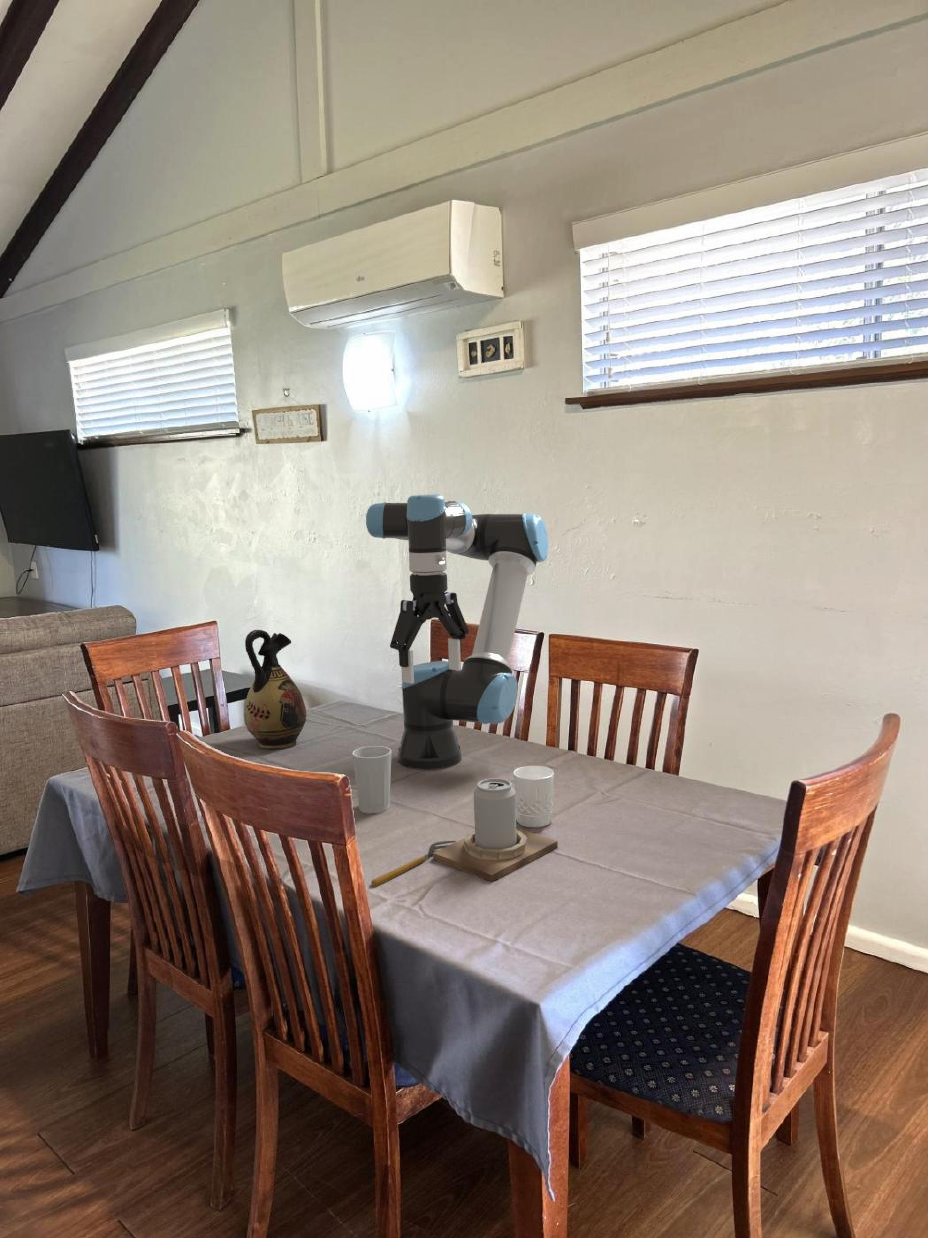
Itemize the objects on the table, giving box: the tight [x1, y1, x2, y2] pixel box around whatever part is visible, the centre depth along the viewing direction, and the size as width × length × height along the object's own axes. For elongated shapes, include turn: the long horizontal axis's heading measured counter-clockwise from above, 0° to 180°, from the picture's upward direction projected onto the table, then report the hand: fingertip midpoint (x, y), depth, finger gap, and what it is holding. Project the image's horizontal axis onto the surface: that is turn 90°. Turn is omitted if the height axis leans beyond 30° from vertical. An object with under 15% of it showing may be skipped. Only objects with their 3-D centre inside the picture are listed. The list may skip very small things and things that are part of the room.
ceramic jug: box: [243, 629, 307, 749], centre depth 233 cm, size 17×15×30 cm
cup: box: [351, 745, 392, 814], centre depth 189 cm, size 8×8×12 cm
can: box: [473, 777, 517, 850], centre depth 165 cm, size 8×8×12 cm
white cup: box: [512, 765, 555, 828], centre depth 180 cm, size 8×8×10 cm
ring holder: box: [432, 827, 559, 882], centre depth 166 cm, size 18×14×3 cm
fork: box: [370, 840, 457, 888], centre depth 162 cm, size 2×2×20 cm
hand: (432, 676), depth 189 cm, fingers open, 13 cm apart
